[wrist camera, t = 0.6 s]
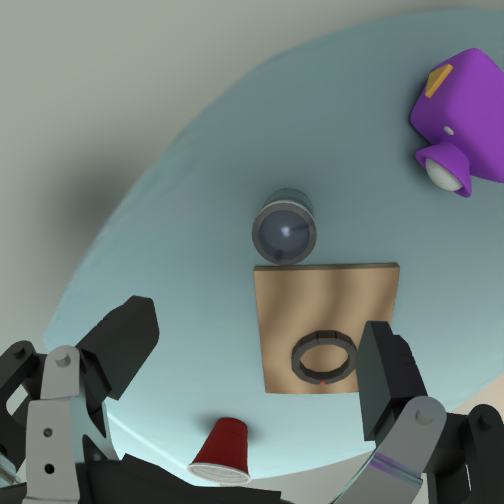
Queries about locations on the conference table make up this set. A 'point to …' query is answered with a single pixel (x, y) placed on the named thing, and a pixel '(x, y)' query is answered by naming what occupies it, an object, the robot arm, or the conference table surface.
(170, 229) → the conference table surface
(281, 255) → the lens
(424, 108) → the toy camera
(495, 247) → the conference table surface
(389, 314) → the mount
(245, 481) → the plastic cup
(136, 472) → the robot arm
